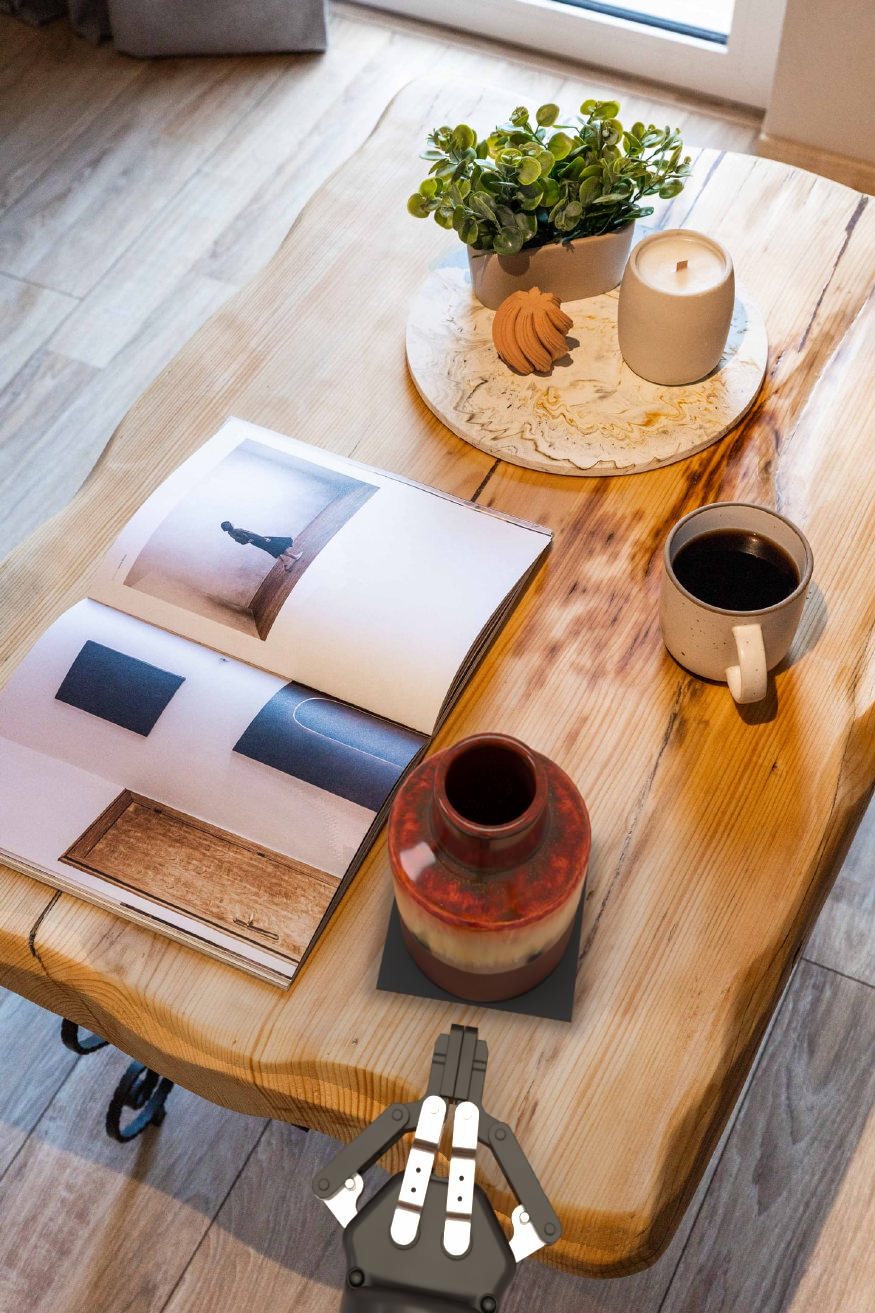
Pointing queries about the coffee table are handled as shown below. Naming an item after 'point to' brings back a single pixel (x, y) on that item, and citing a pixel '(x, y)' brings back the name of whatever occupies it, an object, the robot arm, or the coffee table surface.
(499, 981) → the vase
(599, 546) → the coffee table surface
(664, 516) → the coffee table surface
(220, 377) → the coffee table surface
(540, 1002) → the coaster
